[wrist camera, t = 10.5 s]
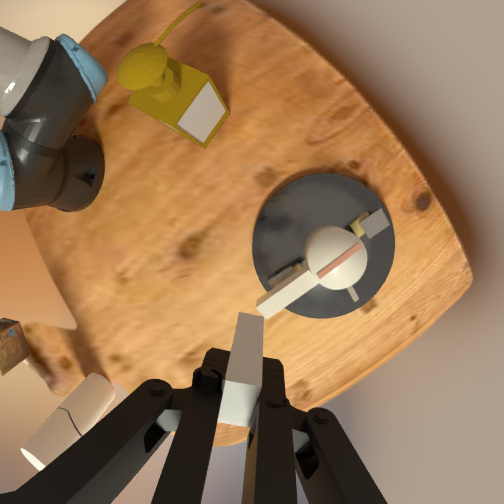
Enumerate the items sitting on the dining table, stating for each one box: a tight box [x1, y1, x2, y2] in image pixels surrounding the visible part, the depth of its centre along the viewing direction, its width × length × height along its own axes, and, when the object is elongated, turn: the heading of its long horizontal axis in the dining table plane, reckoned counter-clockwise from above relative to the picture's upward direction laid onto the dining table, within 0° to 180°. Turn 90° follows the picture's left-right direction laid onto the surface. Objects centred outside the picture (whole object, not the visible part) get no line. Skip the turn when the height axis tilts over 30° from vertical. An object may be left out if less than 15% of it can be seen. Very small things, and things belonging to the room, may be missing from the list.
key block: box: [256, 212, 369, 320], centre depth 39 cm, size 22×8×8 cm, turn 128°
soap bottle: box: [117, 2, 230, 149], centre depth 29 cm, size 7×13×24 cm, turn 146°
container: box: [21, 373, 115, 471], centre depth 40 cm, size 9×9×30 cm
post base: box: [252, 173, 395, 318], centre depth 42 cm, size 24×24×4 cm
